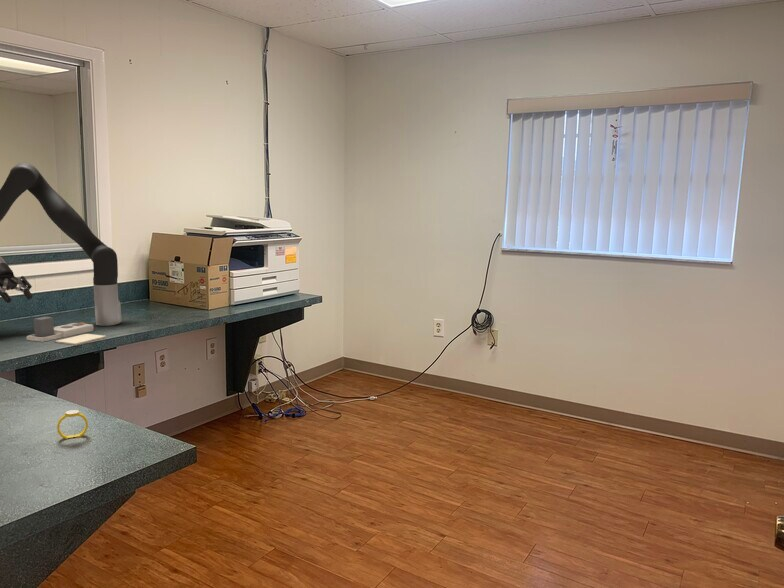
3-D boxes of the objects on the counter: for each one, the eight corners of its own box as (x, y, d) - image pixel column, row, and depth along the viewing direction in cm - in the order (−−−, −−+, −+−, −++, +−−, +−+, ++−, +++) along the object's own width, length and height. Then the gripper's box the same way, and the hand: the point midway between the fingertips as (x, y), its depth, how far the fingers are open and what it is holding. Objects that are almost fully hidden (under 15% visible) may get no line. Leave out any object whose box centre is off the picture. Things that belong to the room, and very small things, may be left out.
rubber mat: (86, 335, 234) (86, 333, 234) (106, 337, 231) (106, 335, 231) (55, 342, 221) (55, 340, 221) (75, 345, 218) (75, 343, 218)
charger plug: (46, 337, 230) (45, 316, 229) (54, 337, 229) (53, 317, 228) (34, 339, 226) (33, 318, 224) (42, 340, 224) (41, 319, 223)
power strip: (75, 328, 246) (74, 321, 245) (93, 330, 242) (93, 323, 242) (25, 339, 225) (24, 331, 225) (44, 342, 222) (43, 334, 221)
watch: (87, 434, 136) (87, 408, 135) (87, 438, 133) (88, 412, 133) (57, 436, 133) (57, 410, 132) (57, 441, 131) (57, 414, 130)
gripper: (-17, 263, 224) (7, 296, 221) (18, 260, 237) (41, 291, 234) (-26, 277, 226) (-2, 309, 224) (10, 273, 240) (33, 303, 237)
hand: (20, 299), depth 229 cm, fingers open, 8 cm apart
